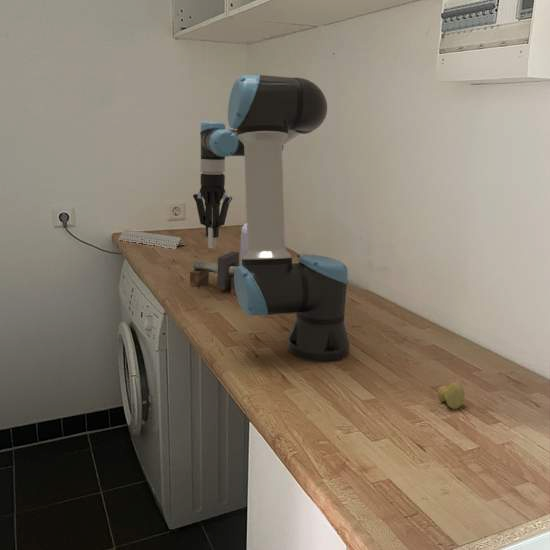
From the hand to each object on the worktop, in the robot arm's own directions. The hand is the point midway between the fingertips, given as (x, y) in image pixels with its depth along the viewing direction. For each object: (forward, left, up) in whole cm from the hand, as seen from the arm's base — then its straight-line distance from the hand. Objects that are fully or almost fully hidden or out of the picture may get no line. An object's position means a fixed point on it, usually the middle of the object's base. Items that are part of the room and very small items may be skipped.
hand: (212, 247), depth 185 cm
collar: (0, -6, -12) cm, 13 cm away
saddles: (0, -3, -13) cm, 14 cm away
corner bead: (+42, +52, -14) cm, 69 cm away
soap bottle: (+27, -3, -14) cm, 31 cm away
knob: (-47, -81, -14) cm, 94 cm away
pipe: (0, -3, -9) cm, 9 cm away
